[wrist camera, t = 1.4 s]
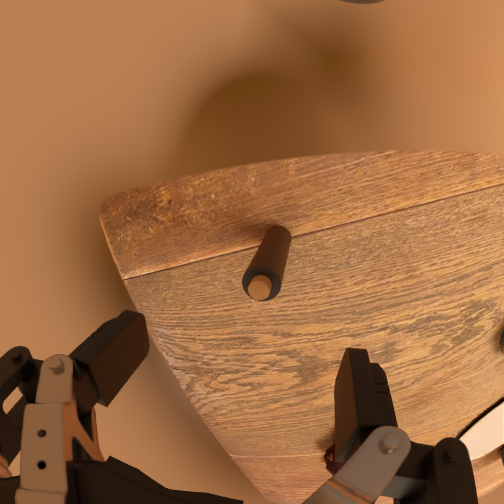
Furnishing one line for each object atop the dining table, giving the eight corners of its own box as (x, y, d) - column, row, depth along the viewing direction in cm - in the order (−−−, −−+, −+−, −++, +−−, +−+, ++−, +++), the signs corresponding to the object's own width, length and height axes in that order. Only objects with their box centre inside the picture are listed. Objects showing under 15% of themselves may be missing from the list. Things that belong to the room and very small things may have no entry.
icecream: (324, 455, 24) (311, 486, 30) (382, 464, 21) (354, 493, 27) (338, 412, 30) (325, 453, 36) (391, 419, 27) (364, 460, 33)
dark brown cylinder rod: (266, 224, 24) (239, 269, 14) (292, 227, 23) (281, 274, 14) (265, 248, 24) (237, 305, 15) (289, 251, 24) (277, 311, 15)
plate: (423, 458, 32) (423, 463, 30) (524, 368, 22) (527, 372, 21) (475, 461, 31) (476, 464, 30) (551, 391, 22) (553, 394, 21)
